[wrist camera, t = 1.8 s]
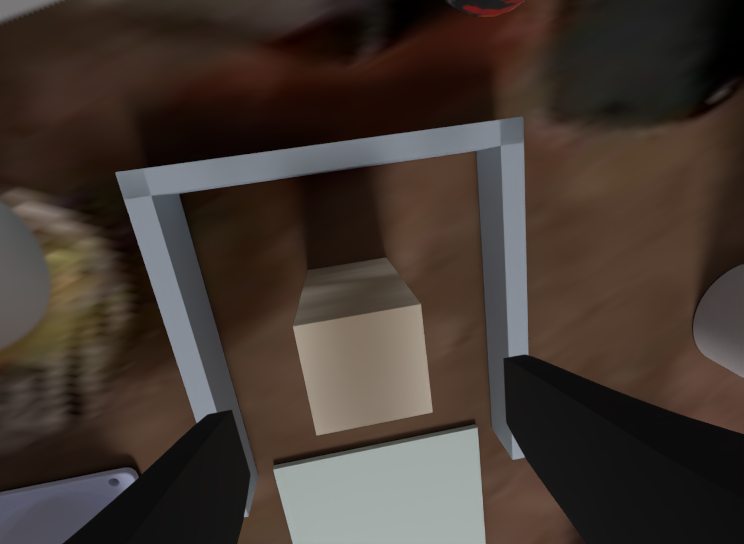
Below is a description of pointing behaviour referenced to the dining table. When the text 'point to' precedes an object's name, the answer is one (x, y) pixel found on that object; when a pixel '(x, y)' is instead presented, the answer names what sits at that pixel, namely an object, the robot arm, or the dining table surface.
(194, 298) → the frame
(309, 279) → the block
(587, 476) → the robot arm
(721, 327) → the coffee cup
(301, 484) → the pad
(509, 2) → the deodorant
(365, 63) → the dining table surface
